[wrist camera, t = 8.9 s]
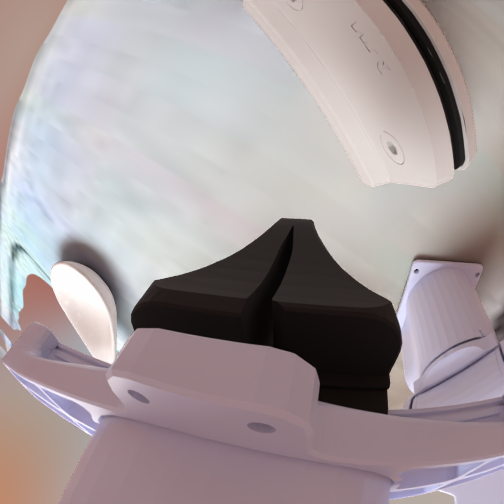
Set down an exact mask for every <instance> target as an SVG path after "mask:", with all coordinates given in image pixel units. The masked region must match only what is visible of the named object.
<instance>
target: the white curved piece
mask: <svg viewBox="0 0 504 504" xmlns="http://www.w3.org/2000/svg"><path fill="white" fill-rule="evenodd" d="M243 8H244V10H245V11H246V12H247V13H248V14H249V15H250V16H251V17H252V19H253V20H254V21H255V22H256V23H257V24H258V25H259V27H260V28H261V29H262V30H263V31H264V33H265V34H266V35H267V36H268V37H269V39H270V40H271V41H272V42H273V44H274V45H275V46H276V47H277V49H278V50H279V51H280V53H281V54H282V55H283V57H284V58H285V59H286V61H287V62H288V63H289V65H290V66H291V67H292V69H293V70H294V71H295V73H296V74H297V76H298V77H299V78H300V80H301V81H302V83H303V84H304V86H305V87H306V88H307V90H308V91H309V93H310V94H311V96H312V97H313V99H314V100H315V102H316V103H317V105H318V107H319V108H320V110H321V111H322V113H323V114H324V116H325V118H326V119H327V121H328V122H329V124H330V126H331V127H332V129H333V131H334V132H335V134H336V136H337V138H338V139H339V141H340V143H341V144H342V146H343V148H344V150H345V152H346V153H347V155H348V157H349V159H350V161H351V162H352V164H353V166H354V168H355V170H356V172H357V174H358V176H359V178H360V180H361V181H362V183H363V184H365V185H368V186H371V187H375V186H379V185H383V184H387V183H399V184H407V185H414V186H421V187H428V188H435V187H437V186H439V185H441V184H444V183H446V182H448V181H451V180H452V179H453V176H454V170H459V171H462V170H465V169H466V168H467V167H468V165H469V164H470V162H471V161H472V159H473V158H474V156H475V155H476V151H477V147H476V130H475V123H474V117H473V111H472V106H471V102H470V98H469V94H468V91H467V87H466V84H465V81H464V78H463V75H462V73H461V70H460V67H459V65H458V63H457V60H456V58H455V56H454V54H453V52H452V50H451V48H450V45H449V44H448V42H447V40H446V38H445V36H444V35H443V33H442V31H441V29H440V28H439V26H438V24H437V23H436V21H435V20H434V19H433V17H432V16H431V14H430V13H429V11H428V10H427V9H426V7H425V6H424V5H423V3H422V2H421V1H420V0H243Z"/></svg>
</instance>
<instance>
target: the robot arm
mask: <svg viewBox="0 0 504 504" xmlns="http://www.w3.org/2000/svg"><path fill="white" fill-rule="evenodd" d="M415 269H418V270H417V271H414V270H415ZM482 271H483V266H482V265H481V264H477V263H462V262H448V261H434V260H419V259H418V260H415V261H414V262H413V263H412V266H411V270H410V273H409V277H408V280H407V284H406V287H405V290H404V293H403V296H402V299H401V302H400V305H399V308H398V311H397V314H396V313H395V310H394V308H393V305H392V303H391V301H389V300H388V299H386V298H384V297H382V296H380V295H378V294H376V293H374V292H373V291H371V290H369V289H368V288H366V287H365V286H363V285H362V284H360V283H359V282H357V281H356V280H355V279H354V278H352V277H351V276H350V275H349V274H348V273H347V272H345V271H344V270H343V269H342V268H341V267H340V266H339V265H338V264H337V263H336V261H335V260H334V259H333V258H332V256H331V255H330V254H329V252H328V251H327V249H326V248H325V246H324V245H323V243H322V241H321V239H320V238H319V236H318V234H317V231H316V229H315V226H314V222H313V221H312V220H307V219H287V218H281V219H280V220H279V221H277V222H276V223H275V224H274V225H273V226H272V227H271V228H269V229H268V230H267V231H266V232H265V233H264V234H262V235H261V236H260V237H259V238H257V239H256V240H254V241H253V242H252V243H250V244H249V245H248V246H246V247H245V248H243V249H241V250H240V251H238V252H236V253H235V254H233V255H231V256H229V257H227V258H225V259H223V260H221V261H218V262H216V263H214V264H211V265H209V266H207V267H204V268H201V269H198V270H195V271H192V272H189V273H185V274H182V275H178V276H173V277H169V278H164V279H160V280H155V281H154V282H153V283H152V284H151V286H150V287H149V288H148V290H147V291H146V292H145V294H144V295H143V296H142V298H141V299H140V300H139V302H138V303H137V304H136V306H135V307H134V309H133V311H132V313H131V323H132V326H133V328H134V332H133V333H132V334H131V336H130V337H129V338H128V340H127V341H126V343H125V344H124V346H123V347H122V349H121V350H120V352H119V354H118V355H117V357H116V358H115V360H114V361H113V363H112V364H110V363H107V362H104V361H102V360H99V359H96V358H94V357H91V356H89V355H86V354H84V353H81V352H79V351H77V350H74V349H72V348H69V347H67V346H65V345H63V344H61V343H59V341H58V339H57V337H56V336H55V335H54V333H53V332H52V331H51V330H50V329H49V328H47V327H46V326H44V325H41V324H39V323H37V322H35V321H33V322H32V323H31V324H30V325H29V327H28V328H27V329H26V330H25V331H24V332H23V334H22V335H21V336H20V337H19V339H18V340H17V341H16V342H15V344H14V345H13V346H12V347H11V349H10V350H9V351H8V352H7V354H6V355H5V356H4V358H3V359H2V362H3V364H4V365H5V366H6V367H7V368H8V369H9V371H10V372H11V373H12V374H13V375H14V376H15V377H16V378H17V379H18V381H19V382H20V383H21V384H22V385H23V386H24V387H25V388H26V389H27V390H28V391H29V392H30V393H31V394H32V395H33V396H34V397H35V398H36V399H38V400H39V401H40V402H42V403H43V404H45V405H46V406H47V407H49V408H50V409H52V410H53V411H54V412H56V413H57V414H59V415H60V416H62V417H63V418H64V419H66V420H67V421H69V422H70V423H72V424H73V425H75V426H77V427H78V428H80V429H81V430H83V431H84V432H86V433H88V434H89V435H91V436H92V438H91V440H90V442H89V443H88V445H87V447H86V449H85V451H84V453H83V455H82V457H81V459H80V461H79V462H78V465H77V466H76V468H75V471H74V473H73V474H72V476H71V479H70V480H69V482H68V484H67V487H66V489H65V491H64V493H63V495H62V497H61V499H60V501H59V503H58V504H389V500H393V499H399V498H405V497H411V496H416V495H421V494H426V493H430V492H434V491H441V492H444V493H447V494H450V495H452V496H454V498H455V504H504V339H503V340H502V341H501V342H500V343H499V341H498V339H497V337H496V334H495V332H494V330H493V327H492V325H491V323H490V320H489V318H488V316H487V314H486V311H485V309H484V307H483V305H482V303H481V301H480V299H479V297H478V295H477V293H476V291H475V288H476V286H477V284H478V281H479V279H480V276H481V274H482ZM476 273H477V274H476ZM400 351H401V352H402V359H403V366H404V374H405V380H406V383H407V385H408V387H409V388H410V390H411V391H412V392H413V393H414V395H412V396H410V397H409V398H408V399H407V400H406V402H405V404H404V407H403V409H401V410H388V397H387V389H389V387H390V376H389V373H390V371H391V369H392V367H393V365H394V363H395V361H396V359H397V357H398V355H399V353H400Z"/></svg>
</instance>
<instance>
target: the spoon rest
mask: <svg viewBox="0 0 504 504" xmlns="http://www.w3.org/2000/svg"><path fill="white" fill-rule="evenodd" d="M50 277H51V284H52V287H53V290H54V293H55V295H56V297H57V299H58V301H59V303H60V305H61V307H62V309H63V310H64V312H65V314H66V315H67V317H68V318H69V320H70V321H71V323H72V325H73V326H74V328H75V329H76V331H77V332H78V334H79V336H80V337H81V339H82V340H83V342H84V343H85V345H86V347H87V348H88V350H89V351H90V353H91V354H92V356H93V357H94V358H96V359H99V360H102V361H104V362H107V363H110V364H112V363H113V361H114V360H115V358H116V357H117V355H116V354H117V353H116V337H117V311H116V305H115V301H114V298H113V296H112V293H111V291H110V289H109V288H108V286H107V285H106V283H105V282H104V281H103V280H102V279H101V278H100V276H99V275H97V274H96V273H95V272H94V271H93V270H91V269H90V268H88V267H86V266H84V265H82V264H79V263H76V262H71V261H61V262H57V263H56V264H54V265H53V267H52V269H51V274H50Z"/></svg>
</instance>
